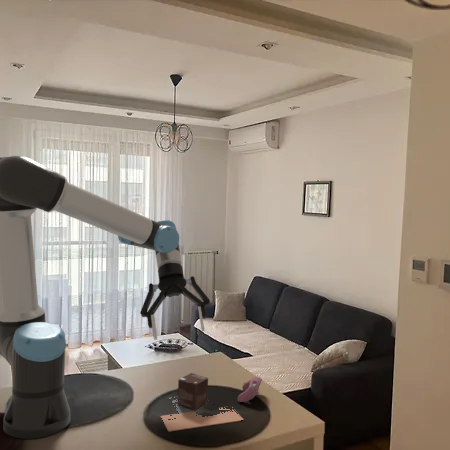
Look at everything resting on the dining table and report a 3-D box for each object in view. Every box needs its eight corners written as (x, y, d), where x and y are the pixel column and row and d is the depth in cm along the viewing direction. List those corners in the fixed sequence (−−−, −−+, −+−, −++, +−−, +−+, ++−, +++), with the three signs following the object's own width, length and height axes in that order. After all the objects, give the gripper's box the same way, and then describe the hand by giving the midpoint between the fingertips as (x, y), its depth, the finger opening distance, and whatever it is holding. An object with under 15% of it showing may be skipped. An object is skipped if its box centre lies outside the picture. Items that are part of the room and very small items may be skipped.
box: (207, 403, 128) (209, 377, 128) (194, 411, 123) (196, 384, 123) (190, 397, 132) (191, 372, 131) (176, 405, 126) (178, 378, 126)
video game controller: (249, 410, 130) (262, 389, 129) (235, 401, 130) (248, 380, 129) (254, 395, 139) (266, 376, 138) (241, 387, 140) (252, 368, 139)
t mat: (151, 400, 129) (151, 399, 129) (218, 392, 137) (218, 391, 137) (168, 431, 112) (168, 430, 112) (243, 420, 120) (243, 419, 120)
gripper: (210, 265, 147) (222, 330, 136) (131, 279, 144) (137, 345, 134) (209, 254, 140) (222, 321, 129) (126, 268, 138) (132, 337, 127)
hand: (179, 334), depth 132 cm, fingers open, 13 cm apart
